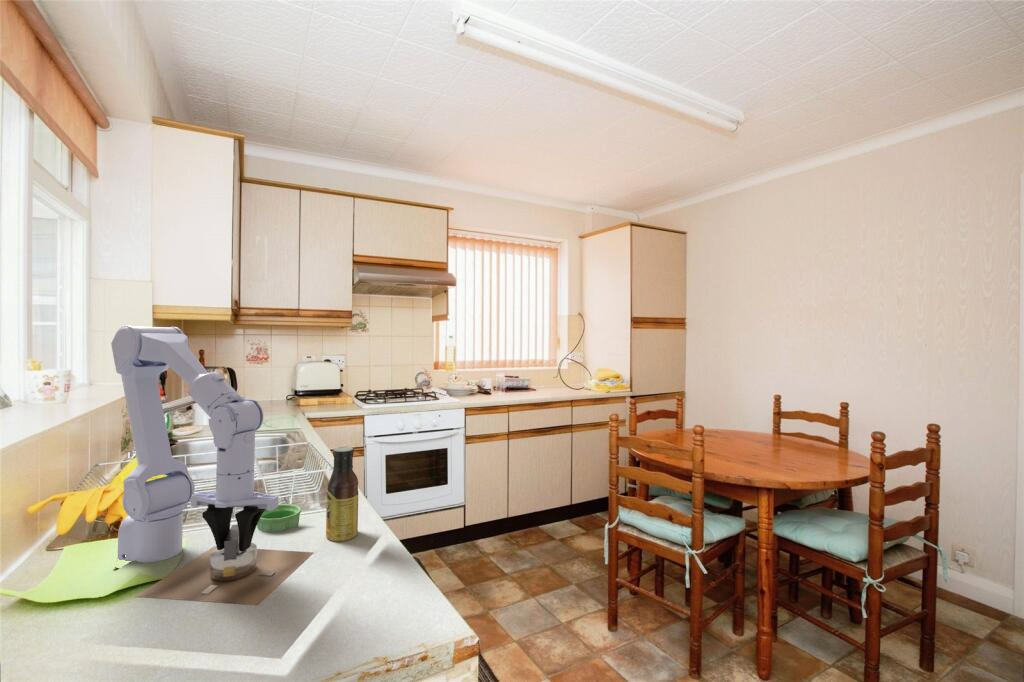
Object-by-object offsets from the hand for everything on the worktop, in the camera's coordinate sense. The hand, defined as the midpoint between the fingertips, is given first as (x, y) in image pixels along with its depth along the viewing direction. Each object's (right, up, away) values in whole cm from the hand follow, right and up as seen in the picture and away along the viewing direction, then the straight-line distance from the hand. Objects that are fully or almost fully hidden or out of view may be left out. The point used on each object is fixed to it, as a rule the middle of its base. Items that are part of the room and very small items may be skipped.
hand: (233, 548), depth 83 cm
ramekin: (-3, -6, +21) cm, 22 cm away
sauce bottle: (+13, -6, +16) cm, 22 cm away
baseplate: (0, -6, 0) cm, 6 cm away
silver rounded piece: (0, -4, 0) cm, 4 cm away
